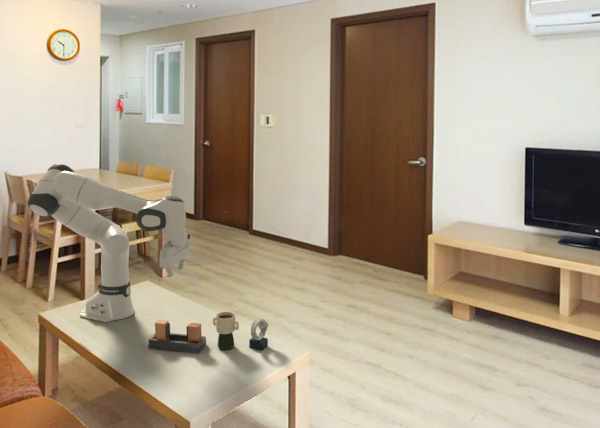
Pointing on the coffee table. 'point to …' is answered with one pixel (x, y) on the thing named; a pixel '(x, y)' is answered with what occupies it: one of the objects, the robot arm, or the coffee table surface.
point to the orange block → (162, 329)
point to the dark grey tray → (181, 341)
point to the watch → (259, 341)
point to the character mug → (225, 329)
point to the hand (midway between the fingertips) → (175, 272)
